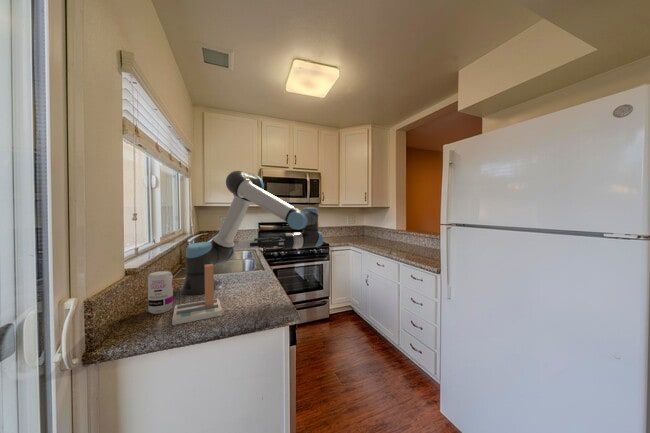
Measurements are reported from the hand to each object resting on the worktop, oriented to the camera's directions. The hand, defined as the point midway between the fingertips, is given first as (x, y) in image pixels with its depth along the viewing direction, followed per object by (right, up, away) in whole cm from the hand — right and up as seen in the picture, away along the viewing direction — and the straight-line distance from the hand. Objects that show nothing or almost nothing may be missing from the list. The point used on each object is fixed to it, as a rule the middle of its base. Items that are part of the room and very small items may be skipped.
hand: (240, 244), depth 99 cm
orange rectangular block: (-10, -24, -5) cm, 26 cm away
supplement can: (-30, -26, -5) cm, 40 cm away
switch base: (-14, -26, -7) cm, 30 cm away
